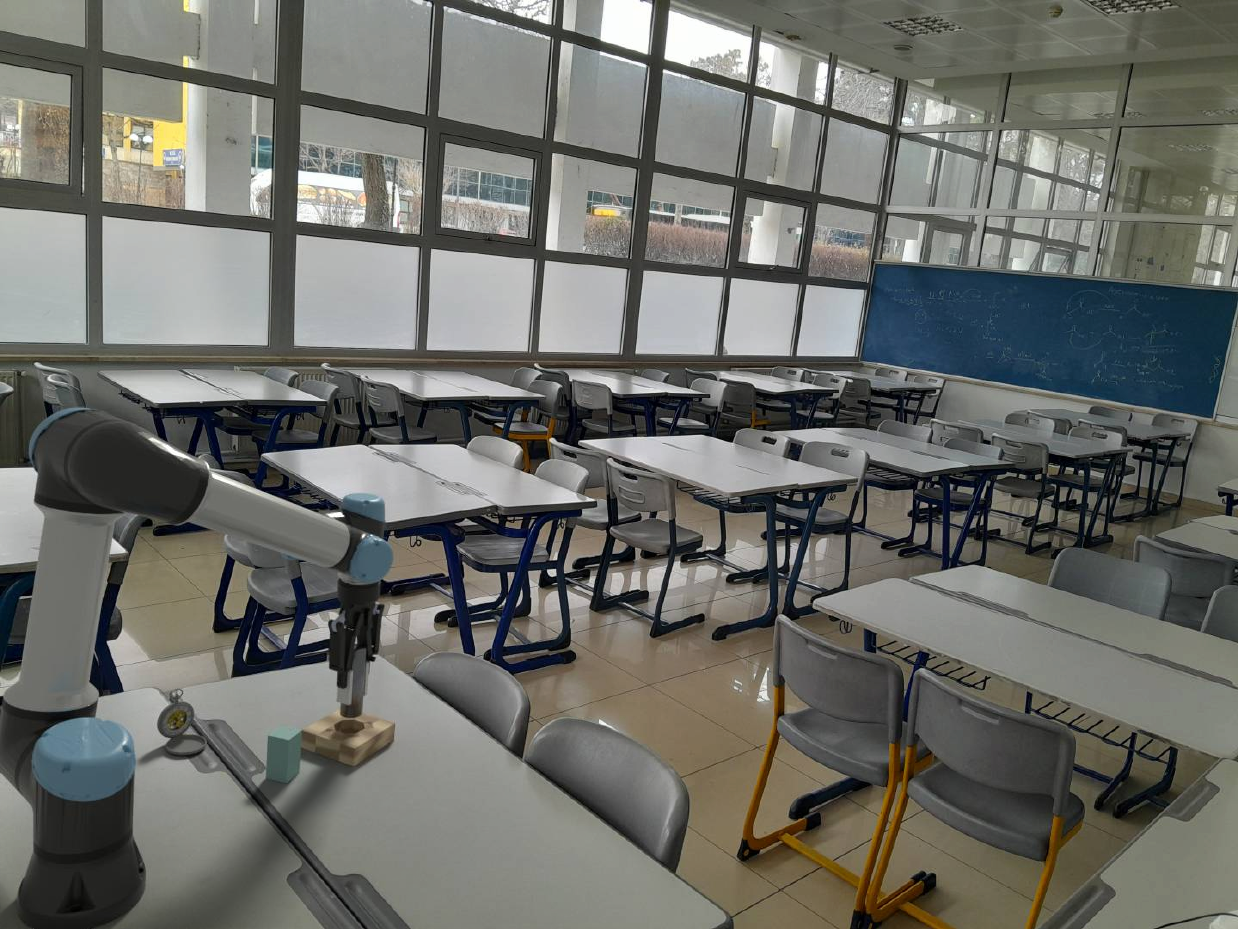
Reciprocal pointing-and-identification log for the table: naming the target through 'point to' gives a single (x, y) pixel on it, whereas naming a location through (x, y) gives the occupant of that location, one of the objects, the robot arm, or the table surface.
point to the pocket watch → (179, 728)
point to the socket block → (347, 737)
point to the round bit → (356, 684)
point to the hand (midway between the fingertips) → (352, 697)
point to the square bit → (283, 754)
